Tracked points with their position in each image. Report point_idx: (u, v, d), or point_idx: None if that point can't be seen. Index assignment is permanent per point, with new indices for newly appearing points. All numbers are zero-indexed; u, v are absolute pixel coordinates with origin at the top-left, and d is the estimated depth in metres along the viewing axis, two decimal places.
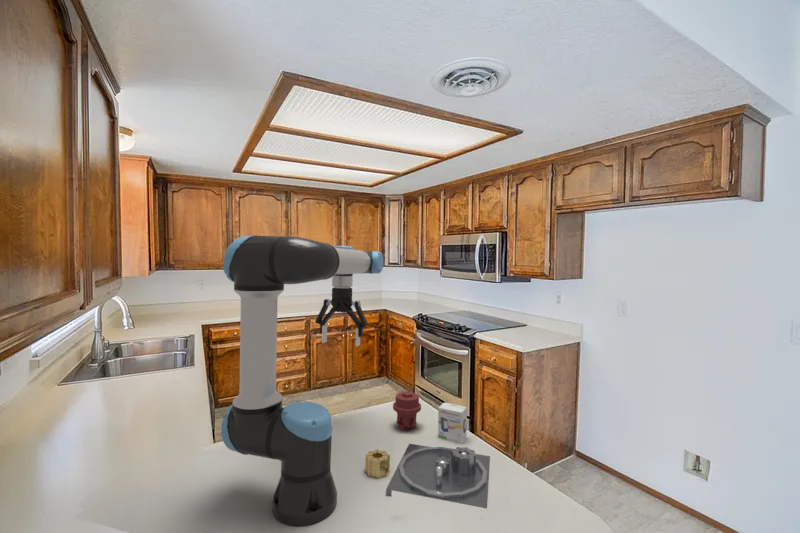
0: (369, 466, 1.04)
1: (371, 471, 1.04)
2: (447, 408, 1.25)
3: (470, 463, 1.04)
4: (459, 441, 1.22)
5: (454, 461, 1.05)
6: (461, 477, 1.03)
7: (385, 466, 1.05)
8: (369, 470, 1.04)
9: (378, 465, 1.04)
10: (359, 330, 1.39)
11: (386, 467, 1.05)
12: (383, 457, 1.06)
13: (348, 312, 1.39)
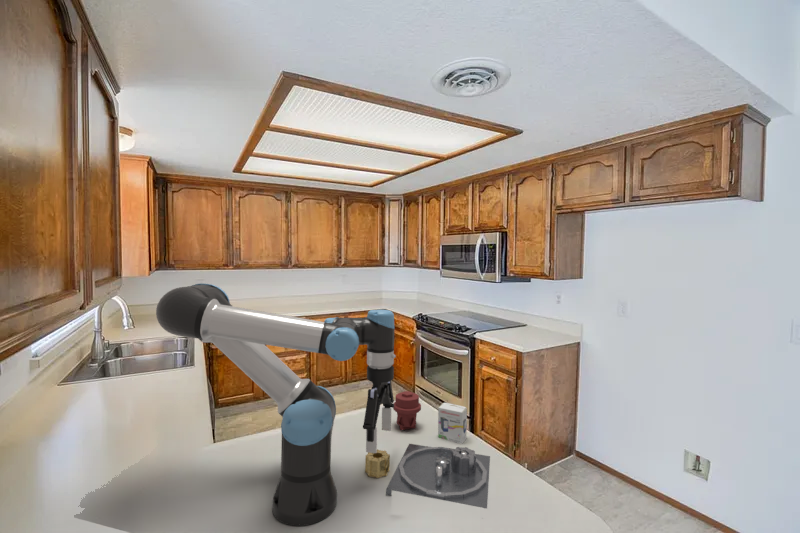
0: (369, 466, 1.04)
1: (371, 471, 1.04)
2: (447, 408, 1.25)
3: (470, 463, 1.04)
4: (459, 441, 1.22)
5: (454, 461, 1.05)
6: (461, 477, 1.03)
7: (385, 466, 1.05)
8: (369, 470, 1.04)
9: (378, 465, 1.04)
10: None
11: (386, 467, 1.05)
12: (383, 457, 1.06)
13: None
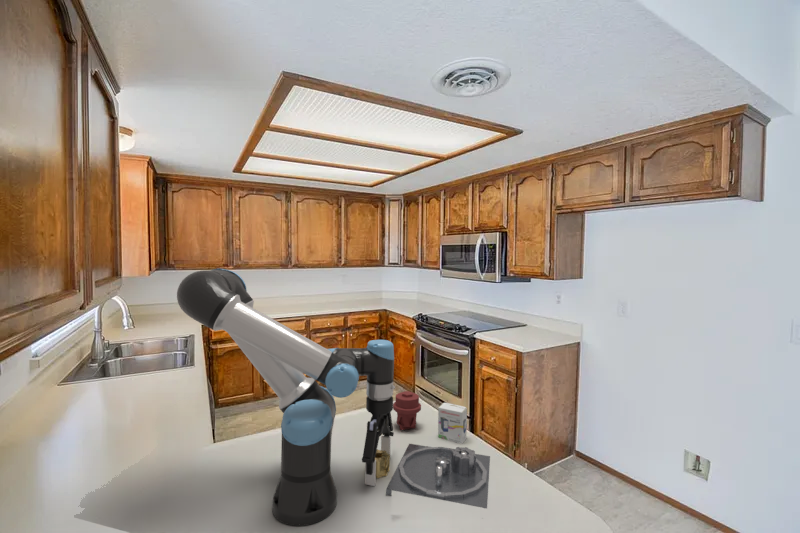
0: None
1: None
2: (447, 408, 1.25)
3: (470, 463, 1.04)
4: (459, 441, 1.22)
5: (454, 461, 1.05)
6: (461, 477, 1.03)
7: (385, 466, 1.05)
8: None
9: (378, 465, 1.04)
10: None
11: (386, 467, 1.05)
12: (383, 457, 1.06)
13: None
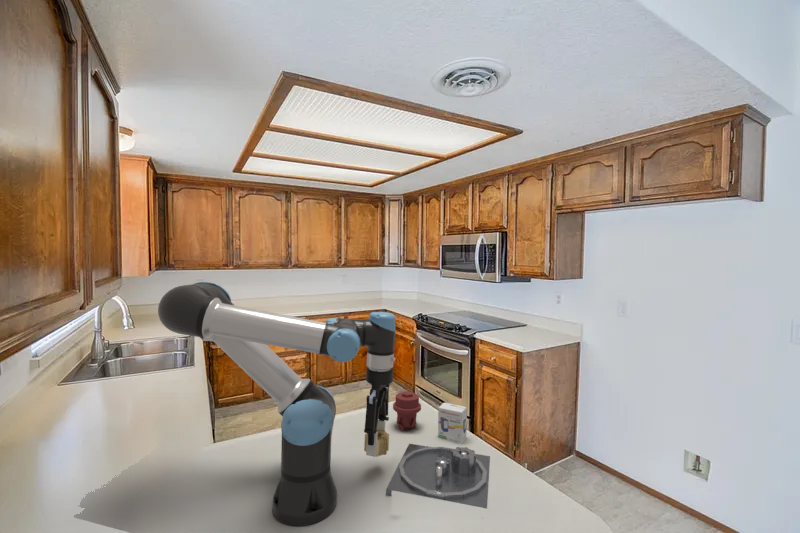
0: None
1: None
2: (447, 408, 1.25)
3: (470, 463, 1.04)
4: (459, 441, 1.22)
5: (454, 461, 1.05)
6: (461, 477, 1.03)
7: (384, 445, 1.04)
8: None
9: (377, 443, 1.03)
10: None
11: (385, 446, 1.05)
12: (382, 436, 1.06)
13: None
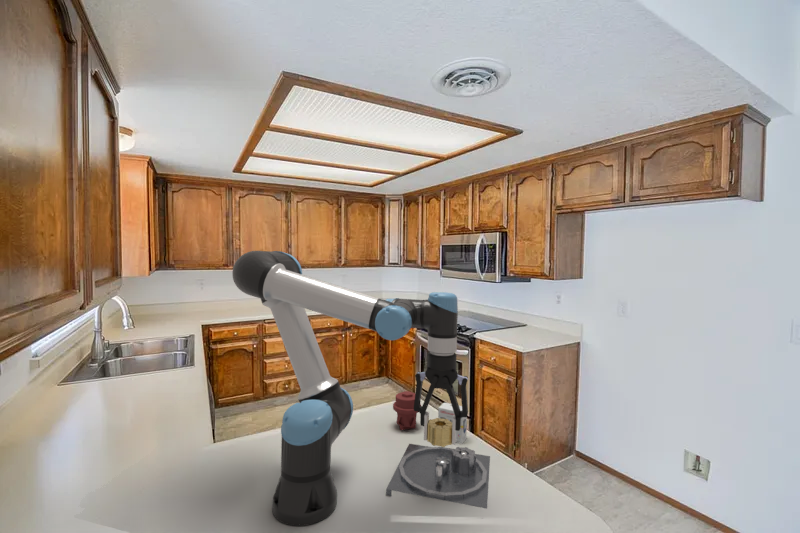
0: (451, 433, 0.97)
1: None
2: (447, 408, 1.25)
3: (470, 463, 1.04)
4: (459, 441, 1.22)
5: (454, 461, 1.05)
6: (461, 477, 1.03)
7: None
8: (451, 437, 0.97)
9: None
10: (457, 421, 0.97)
11: None
12: (443, 420, 1.01)
13: (449, 392, 0.97)
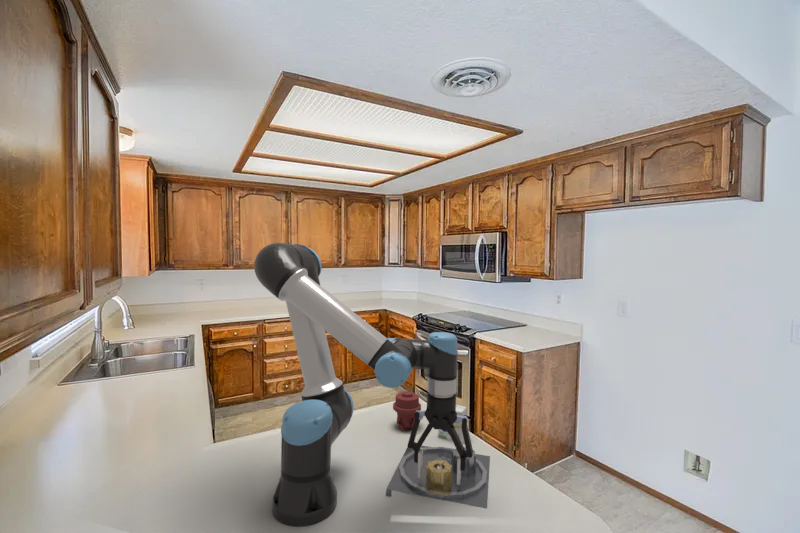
0: (450, 477, 0.97)
1: None
2: None
3: (470, 463, 1.04)
4: None
5: (454, 461, 1.05)
6: (461, 477, 1.03)
7: None
8: (450, 481, 0.97)
9: None
10: (462, 461, 0.97)
11: None
12: (442, 463, 1.01)
13: (450, 433, 0.97)
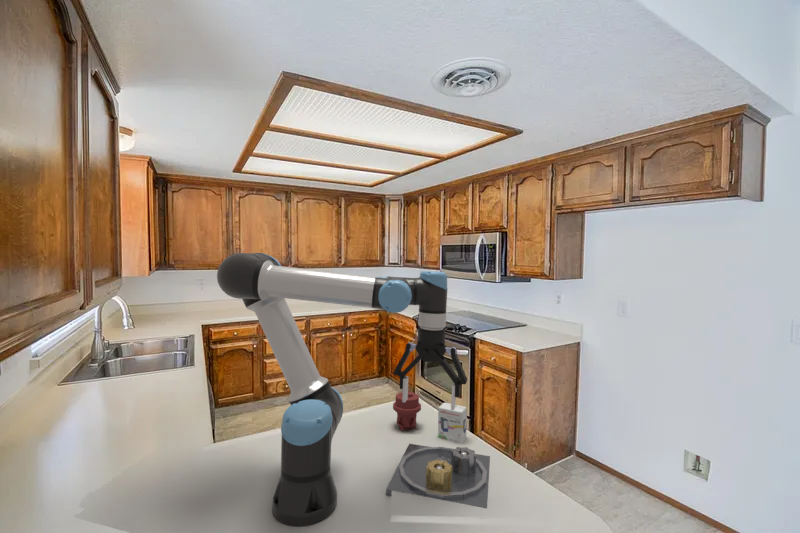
0: (450, 477, 0.97)
1: None
2: (447, 408, 1.25)
3: (470, 463, 1.04)
4: (459, 441, 1.22)
5: (454, 461, 1.05)
6: (461, 477, 1.03)
7: None
8: (450, 481, 0.97)
9: None
10: (456, 388, 1.01)
11: None
12: (442, 463, 1.01)
13: (441, 363, 1.02)
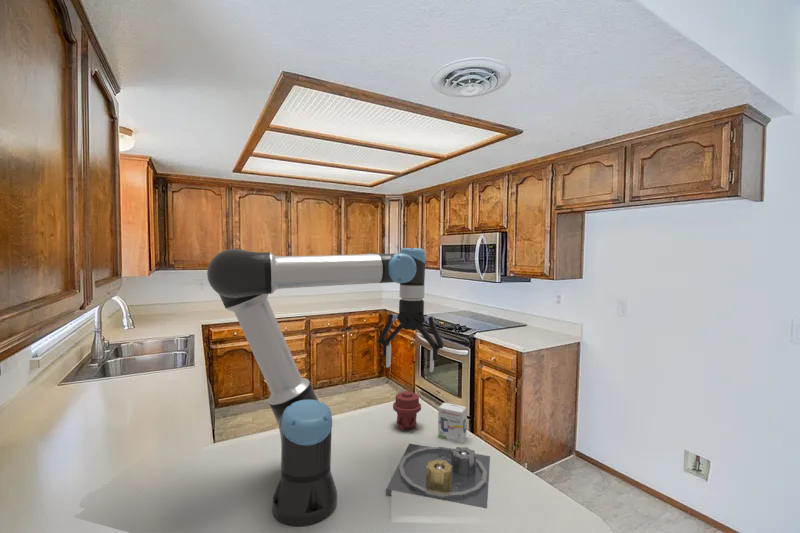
0: (450, 477, 0.97)
1: None
2: (447, 408, 1.25)
3: (470, 463, 1.04)
4: (459, 441, 1.22)
5: (454, 461, 1.05)
6: (461, 477, 1.03)
7: None
8: (450, 481, 0.97)
9: None
10: (434, 352, 1.13)
11: None
12: (442, 463, 1.01)
13: (420, 330, 1.13)
